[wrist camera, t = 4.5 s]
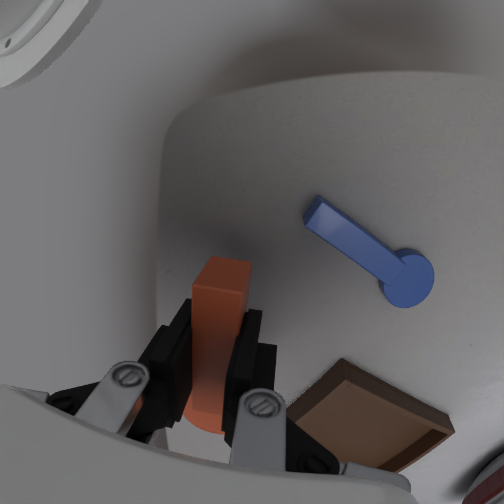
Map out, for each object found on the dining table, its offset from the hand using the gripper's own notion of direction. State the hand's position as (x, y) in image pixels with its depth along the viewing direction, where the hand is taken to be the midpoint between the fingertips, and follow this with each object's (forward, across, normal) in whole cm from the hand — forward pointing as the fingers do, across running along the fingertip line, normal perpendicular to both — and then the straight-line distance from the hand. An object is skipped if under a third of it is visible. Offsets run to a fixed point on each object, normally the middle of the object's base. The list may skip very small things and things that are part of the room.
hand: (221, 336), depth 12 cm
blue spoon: (+8, -7, -2) cm, 11 cm away
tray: (+7, -12, +14) cm, 20 cm away
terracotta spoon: (+1, 0, +1) cm, 2 cm away
